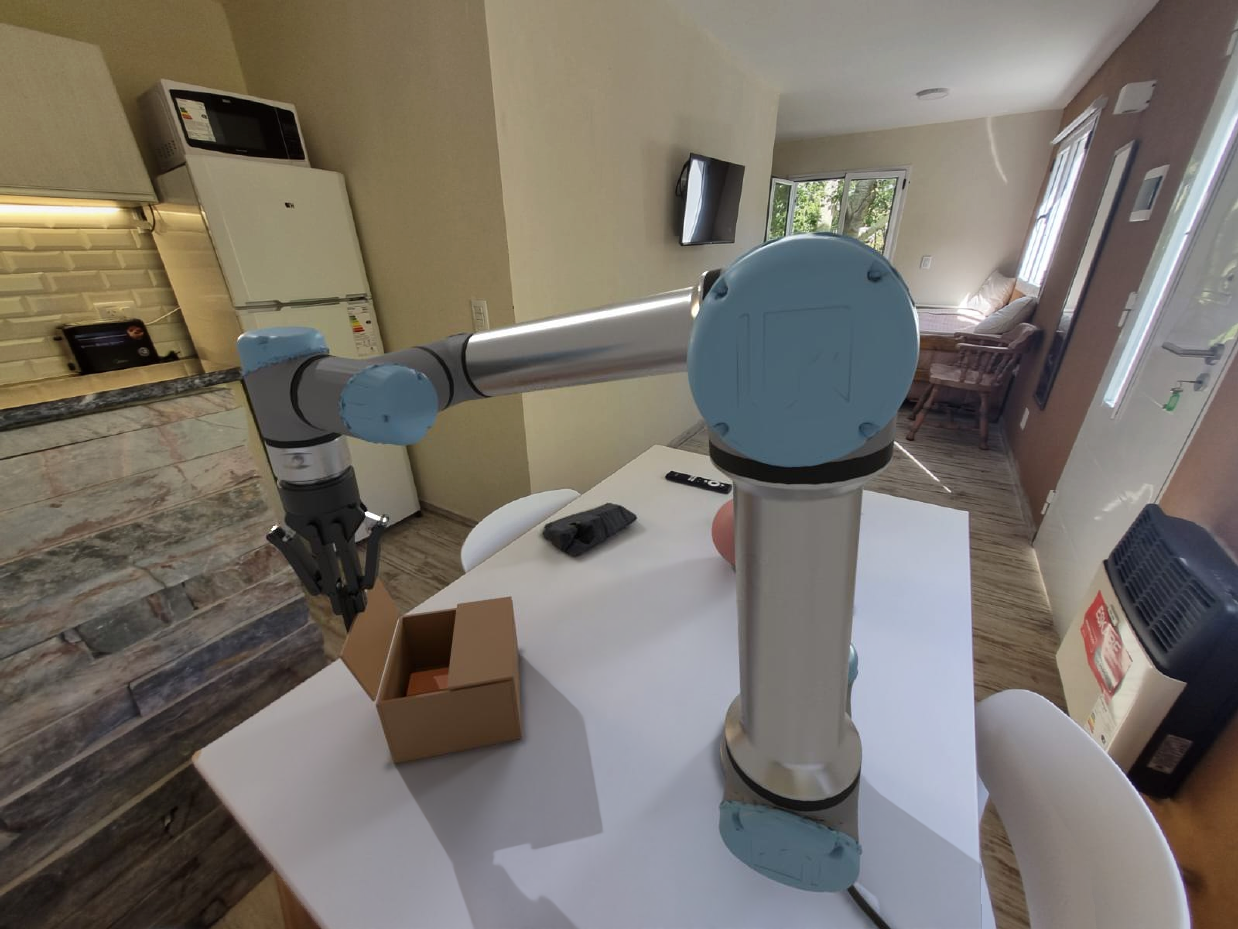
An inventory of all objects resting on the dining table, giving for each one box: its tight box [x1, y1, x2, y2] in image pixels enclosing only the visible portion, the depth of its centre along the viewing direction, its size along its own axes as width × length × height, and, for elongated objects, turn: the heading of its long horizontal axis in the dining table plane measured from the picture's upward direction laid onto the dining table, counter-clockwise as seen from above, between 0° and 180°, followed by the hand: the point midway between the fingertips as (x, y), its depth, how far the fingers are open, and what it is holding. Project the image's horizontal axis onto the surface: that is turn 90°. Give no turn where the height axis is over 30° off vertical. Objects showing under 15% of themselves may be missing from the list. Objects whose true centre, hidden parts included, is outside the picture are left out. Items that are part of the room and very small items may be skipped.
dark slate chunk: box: [541, 502, 638, 557], centre depth 115 cm, size 15×22×5 cm
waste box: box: [375, 596, 523, 764], centre depth 71 cm, size 16×17×12 cm
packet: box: [406, 667, 449, 697], centre depth 71 cm, size 4×7×5 cm, turn 102°
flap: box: [338, 575, 401, 702], centre depth 64 cm, size 16×8×1 cm
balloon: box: [711, 498, 735, 566], centre depth 103 cm, size 15×20×15 cm
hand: (356, 629), depth 64 cm, fingers closed
